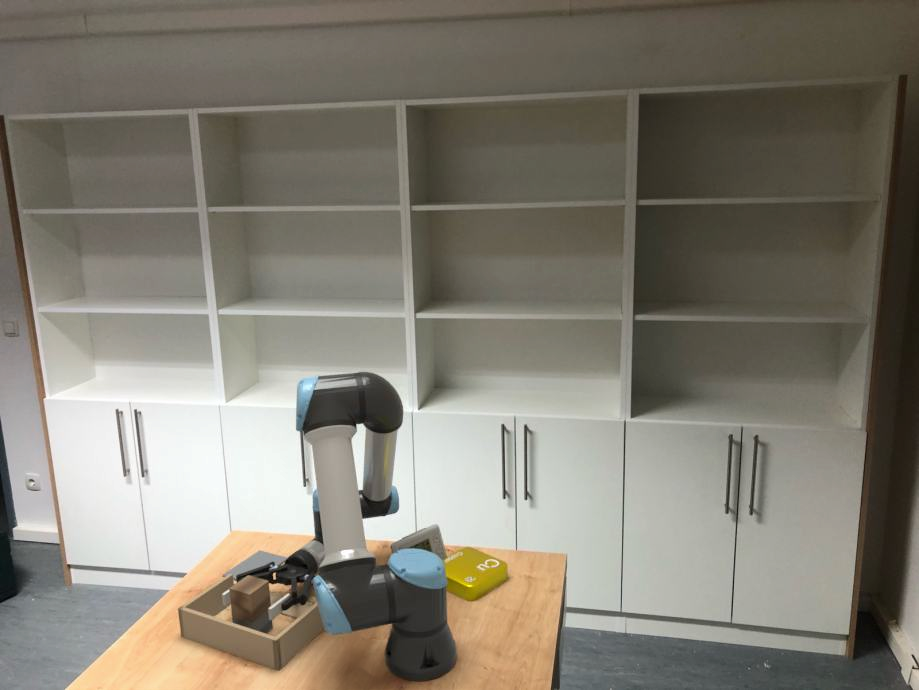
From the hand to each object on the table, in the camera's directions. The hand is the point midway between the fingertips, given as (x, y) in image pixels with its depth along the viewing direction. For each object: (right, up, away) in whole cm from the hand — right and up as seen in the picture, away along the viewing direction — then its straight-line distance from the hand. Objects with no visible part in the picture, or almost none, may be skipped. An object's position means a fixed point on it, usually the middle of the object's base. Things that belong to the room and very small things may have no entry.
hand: (246, 607), depth 158 cm
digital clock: (+38, -1, +26) cm, 46 cm away
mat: (-6, -1, +30) cm, 31 cm away
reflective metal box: (+1, -7, +2) cm, 7 cm away
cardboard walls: (+2, -6, +5) cm, 8 cm away
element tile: (+50, -2, +22) cm, 55 cm away
